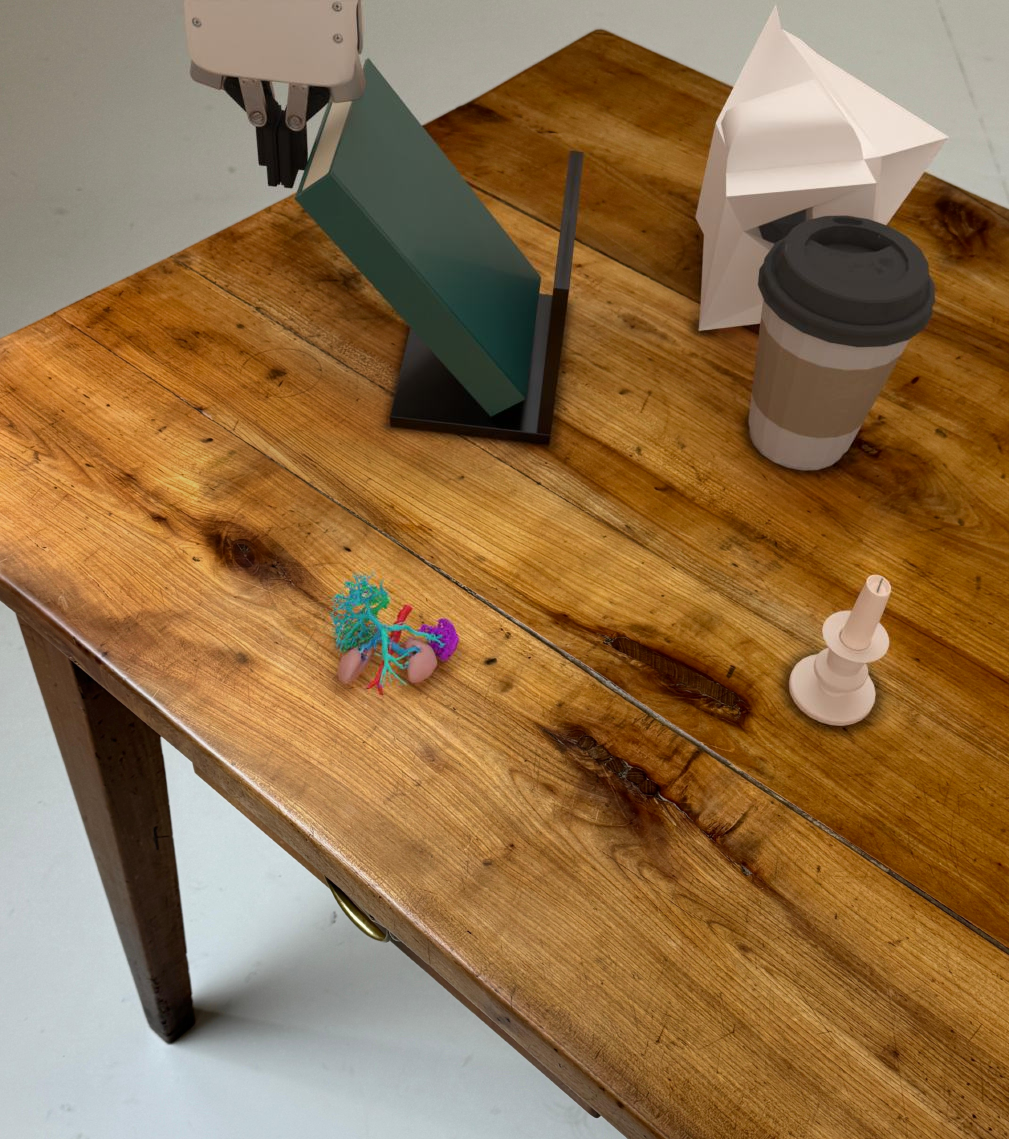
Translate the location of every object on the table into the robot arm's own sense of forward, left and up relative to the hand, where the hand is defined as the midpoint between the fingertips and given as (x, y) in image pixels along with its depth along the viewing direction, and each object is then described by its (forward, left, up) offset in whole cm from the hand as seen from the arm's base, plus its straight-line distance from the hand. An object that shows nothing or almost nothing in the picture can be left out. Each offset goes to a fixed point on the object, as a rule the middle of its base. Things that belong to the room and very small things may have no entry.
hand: (284, 175), depth 84 cm
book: (+9, 0, -5) cm, 10 cm away
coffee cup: (+37, -4, -14) cm, 40 cm away
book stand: (+14, 0, -14) cm, 20 cm away
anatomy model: (+11, -29, -14) cm, 34 cm away
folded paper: (+36, +18, -14) cm, 43 cm away
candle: (+38, -27, -14) cm, 49 cm away
